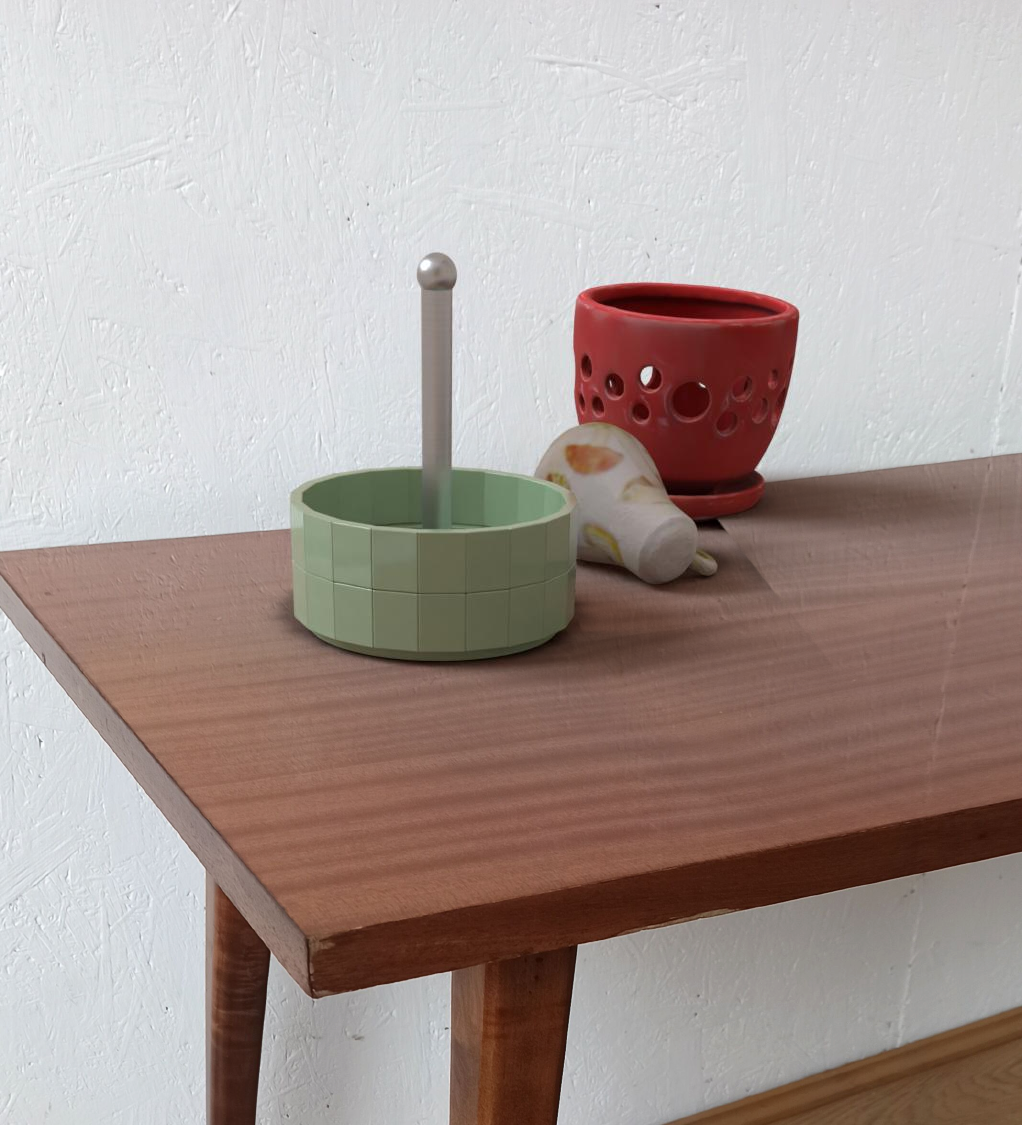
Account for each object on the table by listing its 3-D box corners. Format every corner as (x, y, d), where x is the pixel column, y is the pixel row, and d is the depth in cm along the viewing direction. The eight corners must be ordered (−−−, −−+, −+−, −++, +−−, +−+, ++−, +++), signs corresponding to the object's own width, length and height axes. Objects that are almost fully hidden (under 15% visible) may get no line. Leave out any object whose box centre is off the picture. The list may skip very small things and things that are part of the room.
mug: (640, 607, 90) (562, 418, 88) (563, 642, 99) (491, 471, 97) (755, 554, 93) (682, 368, 90) (670, 593, 102) (602, 425, 99)
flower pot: (537, 520, 105) (544, 301, 99) (603, 476, 116) (613, 276, 109) (752, 544, 101) (773, 317, 95) (799, 496, 112) (821, 290, 106)
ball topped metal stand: (481, 596, 89) (486, 247, 80) (489, 624, 85) (495, 259, 76) (386, 597, 88) (381, 245, 80) (389, 625, 84) (384, 257, 76)
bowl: (555, 584, 93) (559, 466, 90) (588, 664, 82) (594, 532, 78) (296, 585, 92) (291, 465, 89) (293, 666, 80) (287, 532, 77)
